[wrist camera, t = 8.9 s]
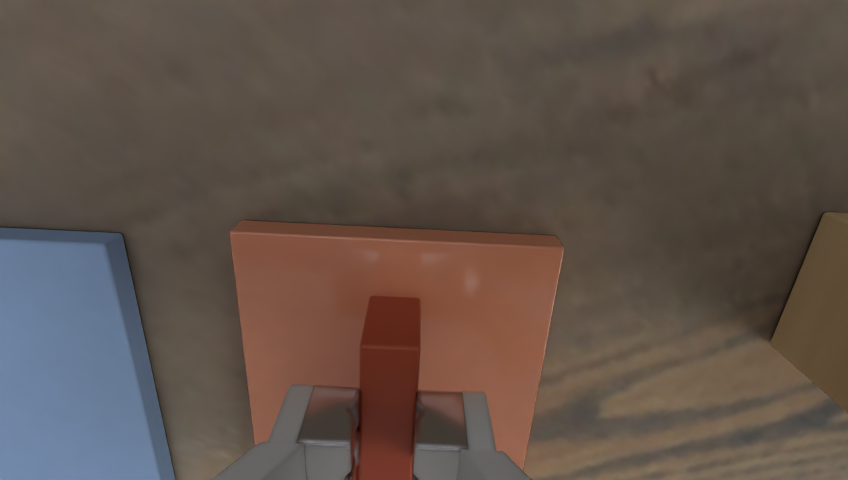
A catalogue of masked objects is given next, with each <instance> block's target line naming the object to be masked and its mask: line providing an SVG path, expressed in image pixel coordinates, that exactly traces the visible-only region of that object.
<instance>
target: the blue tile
mask: <svg viewBox="0 0 848 480" xmlns="http://www.w3.org/2000/svg"><path fill="white" fill-rule="evenodd" d="M0 480H175V476H174V471H173V466H172V462H171V457H170V452H169V448H168V443H167V439H166V434H165V429H164V425H163V420H162V415H161V411H160V406H159V402H158V397H157V392H156V388H155V383H154V378H153V374H152V369H151V365H150V360H149V355H148V351H147V346H146V341H145V337H144V332H143V328H142V323H141V318H140V314H139V309H138V304H137V300H136V295H135V291H134V286H133V281H132V277H131V272H130V267H129V263H128V258H127V254H126V249H125V244H124V240H123V236H122V234H120V233H105V232H84V231H64V230H43V229H22V228H2V227H0Z"/></svg>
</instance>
